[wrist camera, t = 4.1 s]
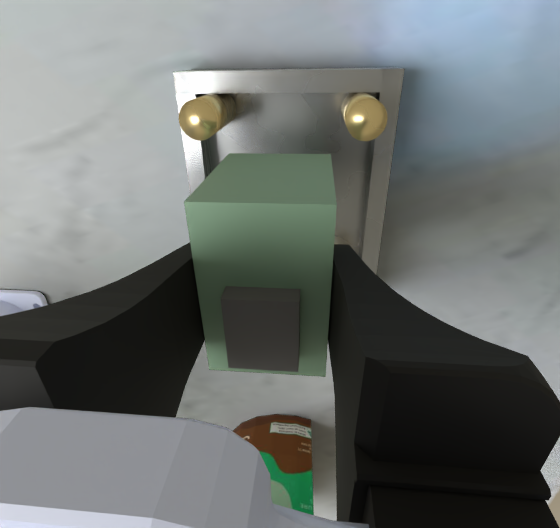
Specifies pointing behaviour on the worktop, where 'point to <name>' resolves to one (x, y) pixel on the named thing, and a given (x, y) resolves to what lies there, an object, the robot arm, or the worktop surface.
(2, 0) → the worktop surface
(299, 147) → the chassis
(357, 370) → the robot arm
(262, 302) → the block
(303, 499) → the food container
